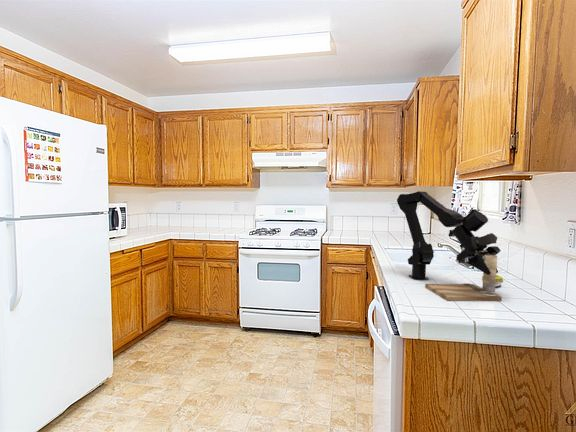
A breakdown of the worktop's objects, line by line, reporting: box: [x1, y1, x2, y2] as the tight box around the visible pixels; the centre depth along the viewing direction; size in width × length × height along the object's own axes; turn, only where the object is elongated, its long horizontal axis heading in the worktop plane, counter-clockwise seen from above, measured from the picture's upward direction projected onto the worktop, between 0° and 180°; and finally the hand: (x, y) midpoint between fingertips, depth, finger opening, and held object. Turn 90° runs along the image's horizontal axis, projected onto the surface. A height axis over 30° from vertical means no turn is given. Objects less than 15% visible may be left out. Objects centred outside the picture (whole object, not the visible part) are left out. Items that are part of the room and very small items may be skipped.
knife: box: [481, 274, 504, 287], centre depth 147 cm, size 8×3×25 cm
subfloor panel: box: [424, 283, 503, 302], centre depth 129 cm, size 17×20×2 cm
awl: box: [481, 254, 498, 293], centre depth 124 cm, size 4×4×13 cm
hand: (493, 273), depth 123 cm, fingers closed on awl, 4 cm apart
